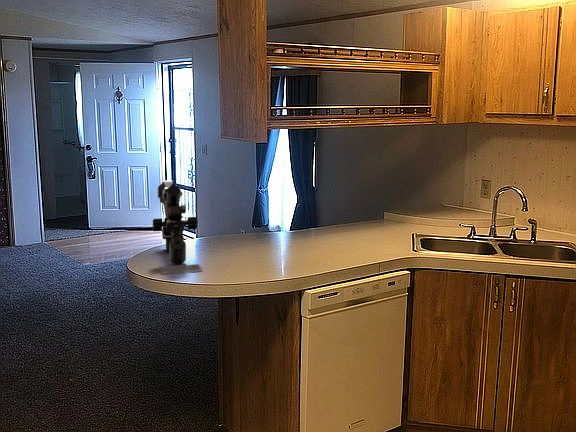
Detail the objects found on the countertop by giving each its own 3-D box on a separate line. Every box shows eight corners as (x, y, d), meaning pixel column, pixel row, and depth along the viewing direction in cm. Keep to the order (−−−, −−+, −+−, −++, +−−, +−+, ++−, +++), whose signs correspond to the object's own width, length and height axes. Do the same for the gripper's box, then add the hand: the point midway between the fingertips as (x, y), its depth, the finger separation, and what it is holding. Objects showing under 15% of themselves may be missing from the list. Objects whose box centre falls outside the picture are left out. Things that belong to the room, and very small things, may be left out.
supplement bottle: (166, 259, 265) (165, 235, 259) (179, 253, 269) (179, 230, 263) (175, 267, 261) (175, 243, 255) (189, 261, 265) (189, 237, 259)
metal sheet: (159, 267, 258) (159, 266, 258) (198, 264, 262) (198, 264, 262) (161, 274, 248) (161, 273, 248) (202, 271, 252) (202, 270, 252)
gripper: (151, 199, 264) (154, 229, 255) (196, 198, 269) (200, 226, 260) (151, 216, 272) (154, 245, 263) (194, 214, 277) (198, 242, 268)
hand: (177, 239), depth 263 cm, fingers closed, pressing on supplement bottle
